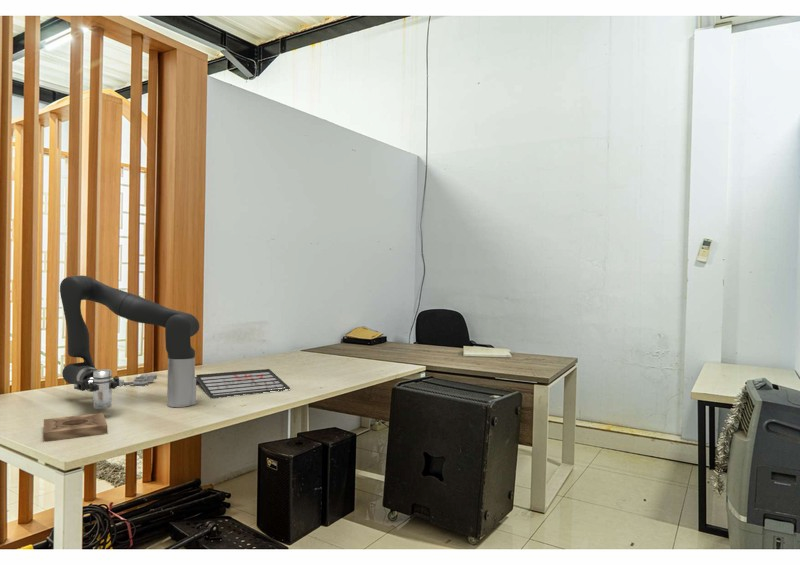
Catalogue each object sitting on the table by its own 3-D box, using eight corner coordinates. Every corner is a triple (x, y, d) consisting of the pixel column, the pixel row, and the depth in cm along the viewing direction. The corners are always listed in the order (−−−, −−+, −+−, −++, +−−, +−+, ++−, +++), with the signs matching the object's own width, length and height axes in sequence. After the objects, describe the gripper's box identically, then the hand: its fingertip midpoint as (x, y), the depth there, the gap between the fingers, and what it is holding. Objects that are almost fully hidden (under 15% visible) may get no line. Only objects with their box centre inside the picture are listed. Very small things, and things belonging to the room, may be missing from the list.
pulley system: (172, 382, 240) (149, 377, 247) (172, 372, 239) (150, 366, 246) (114, 397, 216) (91, 390, 223) (114, 385, 215) (91, 378, 222)
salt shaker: (110, 403, 184) (110, 368, 183) (112, 407, 179) (112, 371, 179) (92, 406, 181) (92, 370, 180) (94, 409, 176) (93, 373, 176)
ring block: (102, 420, 176) (102, 412, 176) (107, 433, 162) (107, 425, 162) (43, 427, 167) (43, 419, 167) (43, 441, 154) (43, 432, 154)
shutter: (288, 403, 226) (264, 380, 252) (290, 387, 226) (266, 365, 252) (209, 409, 209) (192, 383, 235) (211, 391, 208) (194, 367, 234)
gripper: (67, 370, 185) (80, 378, 173) (113, 365, 195) (128, 372, 183) (67, 392, 185) (80, 401, 173) (113, 386, 195) (128, 395, 183)
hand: (104, 386), depth 178 cm, fingers closed on salt shaker, 5 cm apart
